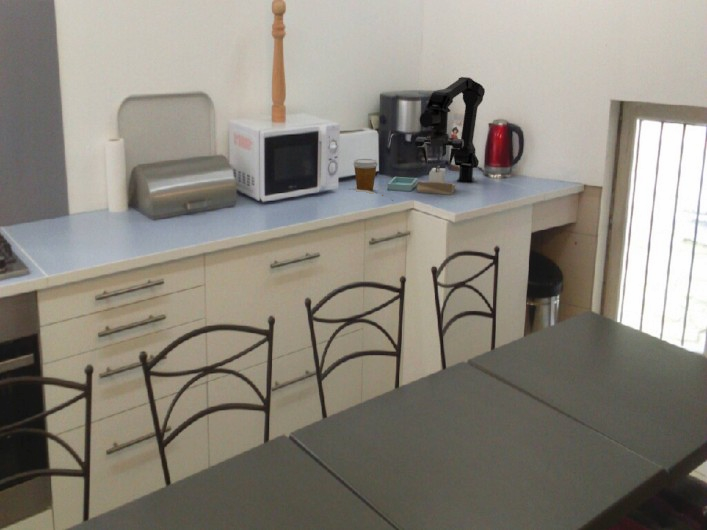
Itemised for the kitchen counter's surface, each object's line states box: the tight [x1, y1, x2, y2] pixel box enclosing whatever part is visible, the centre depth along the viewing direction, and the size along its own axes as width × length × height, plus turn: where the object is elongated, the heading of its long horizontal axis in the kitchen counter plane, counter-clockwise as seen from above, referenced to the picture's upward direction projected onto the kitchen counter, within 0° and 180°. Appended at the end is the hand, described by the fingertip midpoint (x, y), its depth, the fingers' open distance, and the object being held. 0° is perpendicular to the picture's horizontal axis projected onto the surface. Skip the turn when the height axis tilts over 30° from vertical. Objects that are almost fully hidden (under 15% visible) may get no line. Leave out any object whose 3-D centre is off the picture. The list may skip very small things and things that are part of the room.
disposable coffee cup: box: [352, 158, 379, 193], centre depth 298 cm, size 10×10×12 cm
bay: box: [416, 181, 456, 195], centre depth 301 cm, size 11×14×4 cm
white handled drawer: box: [428, 164, 446, 183], centre depth 301 cm, size 9×5×10 cm, turn 165°
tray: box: [387, 176, 419, 192], centre depth 307 cm, size 14×10×2 cm
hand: (438, 164), depth 299 cm, fingers open, 9 cm apart
